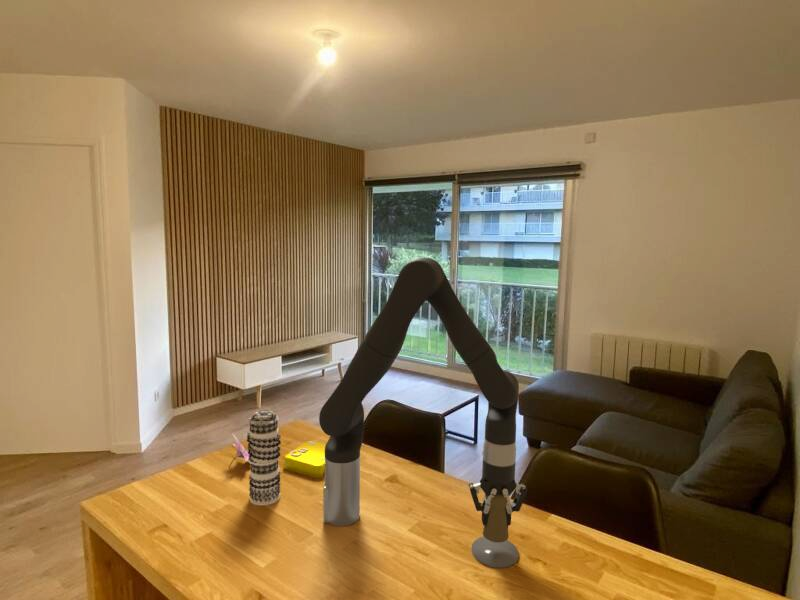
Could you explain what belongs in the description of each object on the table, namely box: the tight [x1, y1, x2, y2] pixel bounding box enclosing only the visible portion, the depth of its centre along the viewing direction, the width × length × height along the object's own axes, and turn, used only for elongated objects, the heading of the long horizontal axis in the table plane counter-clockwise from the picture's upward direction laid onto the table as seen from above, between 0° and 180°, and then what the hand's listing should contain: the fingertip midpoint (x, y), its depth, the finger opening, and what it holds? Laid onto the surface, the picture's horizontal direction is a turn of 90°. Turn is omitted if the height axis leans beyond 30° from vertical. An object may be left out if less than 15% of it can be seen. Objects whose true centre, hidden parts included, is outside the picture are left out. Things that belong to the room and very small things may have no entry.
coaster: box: [471, 536, 519, 569], centre depth 114 cm, size 11×11×1 cm
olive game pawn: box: [482, 494, 510, 543], centre depth 113 cm, size 6×6×11 cm
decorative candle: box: [246, 409, 282, 507], centre depth 134 cm, size 9×9×25 cm
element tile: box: [283, 440, 327, 479], centre depth 157 cm, size 15×15×5 cm
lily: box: [228, 433, 251, 469], centre depth 154 cm, size 12×12×10 cm
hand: (496, 525), depth 113 cm, fingers closed on olive game pawn, 4 cm apart
